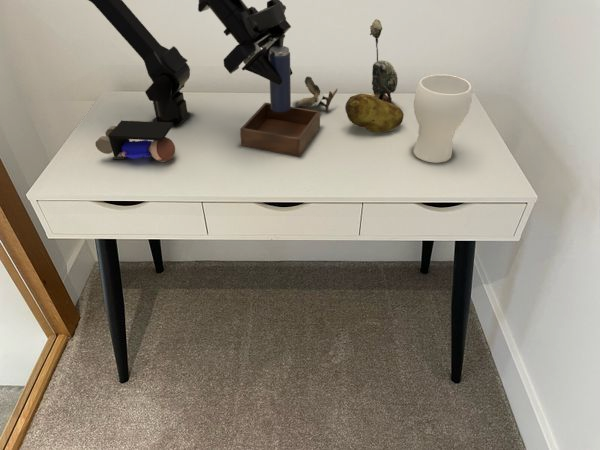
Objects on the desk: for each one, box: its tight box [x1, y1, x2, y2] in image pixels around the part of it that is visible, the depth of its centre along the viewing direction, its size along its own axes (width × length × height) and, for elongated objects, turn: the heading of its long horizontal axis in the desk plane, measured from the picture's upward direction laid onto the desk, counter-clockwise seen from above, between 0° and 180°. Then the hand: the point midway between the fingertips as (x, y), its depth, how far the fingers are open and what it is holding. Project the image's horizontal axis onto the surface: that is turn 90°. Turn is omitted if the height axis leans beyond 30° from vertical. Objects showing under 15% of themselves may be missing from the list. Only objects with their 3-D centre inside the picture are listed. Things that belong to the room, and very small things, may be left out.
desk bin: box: [239, 102, 321, 157], centre depth 109 cm, size 13×13×4 cm
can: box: [269, 45, 292, 112], centre depth 102 cm, size 4×4×12 cm
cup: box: [413, 73, 473, 164], centre depth 100 cm, size 11×11×15 cm
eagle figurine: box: [294, 76, 338, 113], centre depth 119 cm, size 8×7×9 cm
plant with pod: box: [369, 18, 398, 107], centre depth 114 cm, size 8×11×20 cm
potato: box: [344, 93, 405, 133], centre depth 110 cm, size 8×13×8 cm, turn 82°
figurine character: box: [95, 120, 176, 163], centre depth 101 cm, size 7×8×15 cm
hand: (286, 79), depth 101 cm, fingers closed on can, 4 cm apart
